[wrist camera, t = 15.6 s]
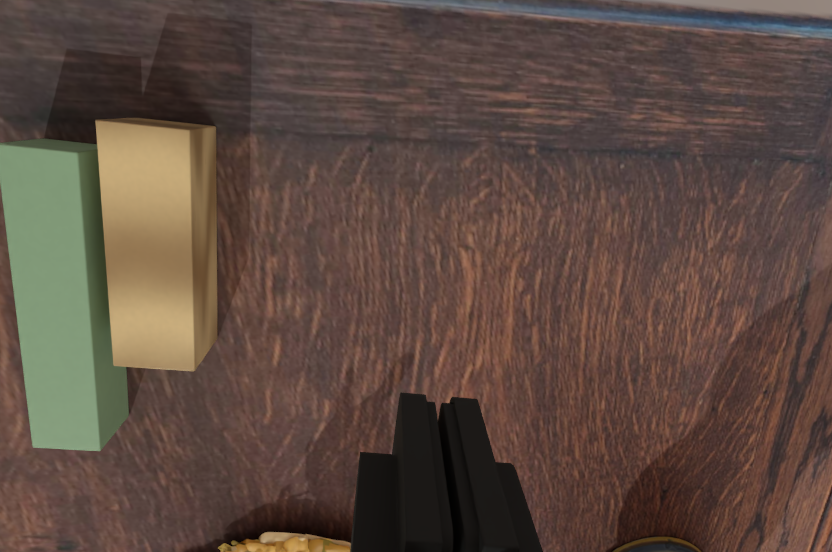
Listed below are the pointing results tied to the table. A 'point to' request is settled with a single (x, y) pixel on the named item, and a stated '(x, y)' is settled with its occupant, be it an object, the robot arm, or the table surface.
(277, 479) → the table surface
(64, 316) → the green bar
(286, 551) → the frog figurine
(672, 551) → the apothecary jar
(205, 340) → the brass block
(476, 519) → the robot arm
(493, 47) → the table surface
